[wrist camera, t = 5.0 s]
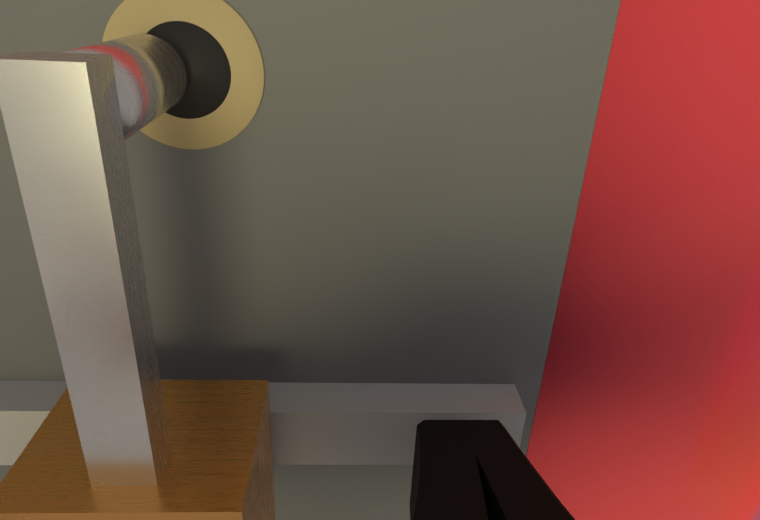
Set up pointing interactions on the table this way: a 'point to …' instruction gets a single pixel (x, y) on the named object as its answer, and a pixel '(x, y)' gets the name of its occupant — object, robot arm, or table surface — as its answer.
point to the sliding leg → (116, 310)
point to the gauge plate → (336, 219)
